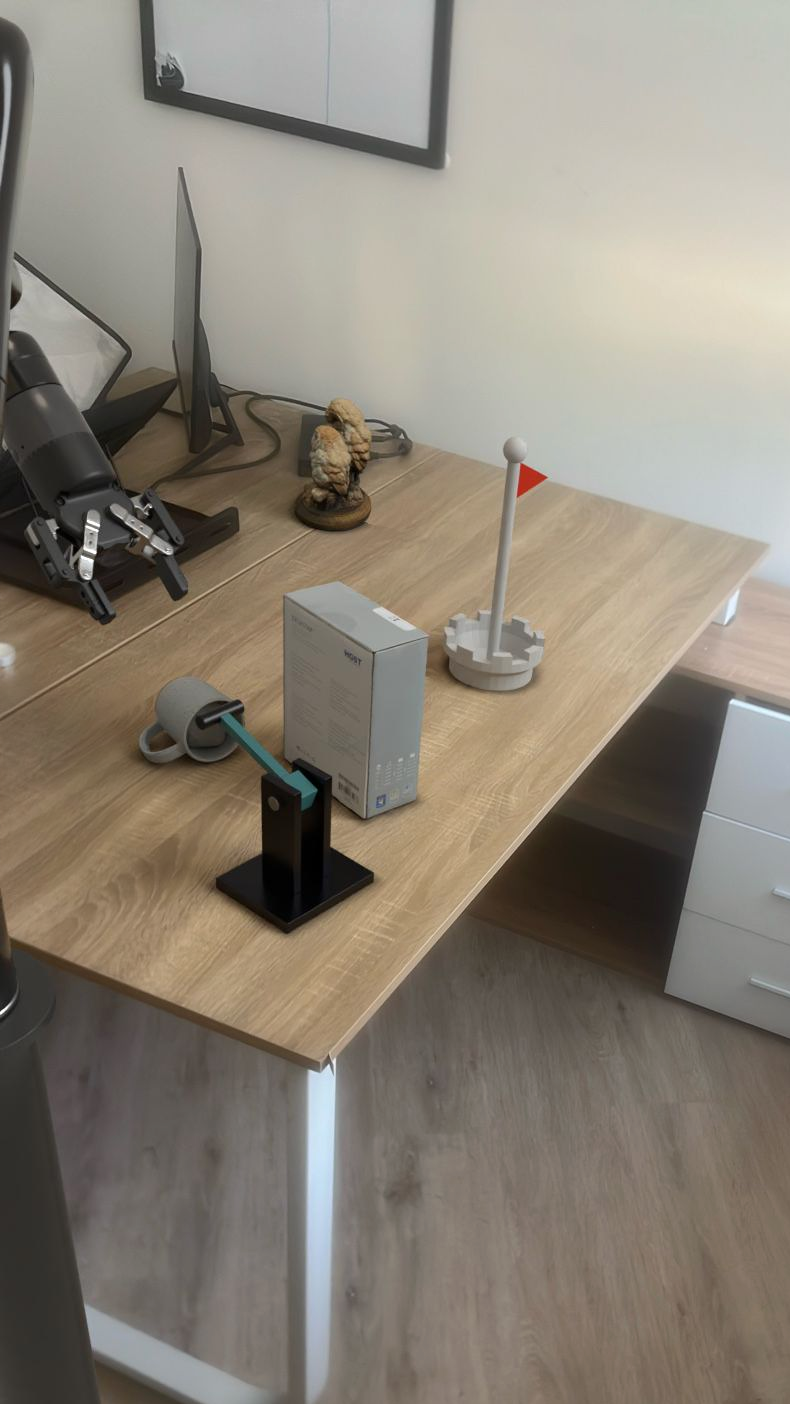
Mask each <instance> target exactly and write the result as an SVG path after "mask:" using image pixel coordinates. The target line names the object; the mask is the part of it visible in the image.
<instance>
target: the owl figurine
mask: <svg viewBox="0 0 790 1404" xmlns="http://www.w3.org/2000/svg"><path fill="white" fill-rule="evenodd" d="M323 422H324V424H323V425H321V424H320V425H319V426H316V428H315V429H314V430H313V435H312V437H311V443H310V445H311V447H312V448H311V451H310V452H309V454H308V455H309V460H310V462H311V463H310V466H311V478H312V482H311V481H310V482H309V483H305V484H304V486H303V489H304V490H303V491H302V492H300V493H299V494H298V496H296V499H295V501H294V513H295V515H296V517H297V518H298V519H299V521H300V522H302V523H304V524H306V525H307V526H308V527H311V528H313V529H319V530H323V531H332V532H337V531H339V532H343V531H348V530H352V529H355V528H357V527H359V526H361V525H362V524H364V523H365V522H366V521H368V519H369V517H370V516H371V512H372V500H371V498H370V496H369V494H368V493H367V492H365V491H364V490H363V488H362V487H361V486H360V484H361V476H360V475H363V474H364V473H365V471H364V470H365V469H366V468H367V465H368V461H370V460H371V455H370V453H371V450H372V447H371V446H372V439H373V436H372V431H371V429H370V428H369V427H368V426H367V425H366V420H365V416H364V415H363V413H362V411H361V408H360V407H358V405H357V404H355V402H353V401H351V400H349V399H347V398H341V397H340V398H338V397H337V398H333V399H332V400H331V401H330V403H329V404H328V406H327V408H326V409H325V411H324V421H323Z"/></svg>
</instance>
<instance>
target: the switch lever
mask: <svg viewBox="0 0 790 1404" xmlns="http://www.w3.org/2000/svg"><path fill="white" fill-rule="evenodd" d="M245 709H246V708H245V705H244V703H243V701H242V700H241V699H240V698H239V699H238V698H236V699H233V701H231V702H229V703H226V704H224V705H222V706H219V707H217V708H215V709H212V710H210V711H207V712H205V713H203V714H200V715H198V716H196V718H195V723H196V725H197V727H198V728H199V729H200V730H205V729H207V728H210V727H212V726H214V725H217V724H219V725H220V726H221V727H222V728H223V729H224V730H225V731H226V732H227V733H228V734H229V735H230V736H231V737H232V738H233V739H234V740H235V741H236V742H237V743H238V746H239V747H241V748H242V749H243V750H244V751H245V752H246V753H247V754H248V755H249V756H250V757H251V758H252V760H254V761H255V763H257V765H259V766H260V768H261V769H263V771H265V773H270V774H272V775H274V776H275V777H277V778H279V779H280V780H282V781H284V782H286V783H287V784H289V785H291V786H293V787H294V788H296V789H298V790H299V791H301V792H302V810H304V809H306V808H308V807H310V806H312V803H313V801H314V798H315V796H316V793H317V791H318V790H317V788H316V787H315V786H314V785H313V784H312V783H311V782H310V781H309V780H308V779H307V778H306V777H305V776H304V775H303V774H302V773H301V772H300V771H299V770H298V771H296V772H293V773H292V772H291V773H289V772H288V771H287V770H286V769H285V768H284V767H283V766H282V765H281V764H280V763H279V762H278V761H277V760H276V759H275V758H274V757H273V756H272V755H271V754H270V753H269V751H267V750H266V748H264V746H262V745H261V744H260V743H259V741H257V740H256V738H254V737H253V735H251V734H250V733H249V732H248V730H247V729H246V728H245V727H244V728H243V727H242V726H241V725H240V724H239V723H238V722H237V721H236V720H235V719H234V718H233V717H235V716H238V715H240V714H242V713H243V714H244V713H245Z"/></svg>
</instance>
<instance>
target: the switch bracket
mask: <svg viewBox="0 0 790 1404" xmlns="http://www.w3.org/2000/svg"><path fill="white" fill-rule="evenodd" d="M298 770H299V771H300V772H301V773H302V774H303V775H304V776H305V777H306V778H307V779H308V780H309V781H310V782H311V783H312V784H313V785H314V786H315V787H316V788H317V790H318V791H317V793H316V796H315V798H314V801H313V803H312V806H310V807H308V808H306V809H304V810H302V792H301V791H299V790H298V789H296V788H294V787H293V786H291V785H289V784H287V783H286V782H284V781H282V780H280V779H279V778H277V777H275V776H274V775H272V774H270V773H267V772H265V773H264V774H263V775H261V776H260V807H261V809H260V813H261V814H260V816H261V819H260V820H261V853H260V854H257V855H256V856H254V857H252V858H250V859H248V860H246V861H245V862H243V863H240V864H238V865H237V866H235V867H233V868H231V869H230V870H227V871H225V872H224V873H222V874H220V875H218V876H216V877H215V888H216V889H218V890H219V891H222V893H224V894H226V895H227V896H229V897H230V898H232V899H234V900H235V901H236V902H238V903H240V904H241V905H243V906H244V907H246V908H247V909H249V910H250V911H252V912H253V913H255V914H256V915H258V916H259V917H261V918H263V919H265V921H267V922H269V923H271V924H272V925H274V927H277V928H278V929H280V930H281V931H283V932H285V934H290V933H291V932H293V931H295V930H296V929H298V928H300V927H302V926H303V925H305V924H306V923H308V922H310V921H312V920H313V919H315V918H316V917H318V916H320V915H322V914H323V913H325V912H326V911H329V910H330V909H332V908H333V907H335V906H337V905H338V904H340V903H341V902H343V901H345V900H346V899H348V898H349V897H352V896H353V895H355V894H357V893H358V892H360V891H361V890H363V889H364V888H366V887H368V886H369V885H372V884H373V883H374V882H375V872H374V871H373V870H371V869H369V868H367V867H366V866H364V865H362V864H361V863H359V862H357V861H355V860H354V859H352V858H350V857H349V856H347V855H345V854H343V853H342V852H340V851H339V850H337V849H335V848H333V847H332V845H331V842H332V841H331V840H332V807H333V806H332V805H333V801H332V800H333V799H332V798H333V795H332V776H331V775H329V774H327V773H326V772H324V771H322V770H320V769H319V768H317V767H315V766H313V765H312V764H310V763H308V762H306V761H305V760H303V759H301V758H297V759H295V760H293V761H292V763H291V773H293V772H296V771H298Z"/></svg>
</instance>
